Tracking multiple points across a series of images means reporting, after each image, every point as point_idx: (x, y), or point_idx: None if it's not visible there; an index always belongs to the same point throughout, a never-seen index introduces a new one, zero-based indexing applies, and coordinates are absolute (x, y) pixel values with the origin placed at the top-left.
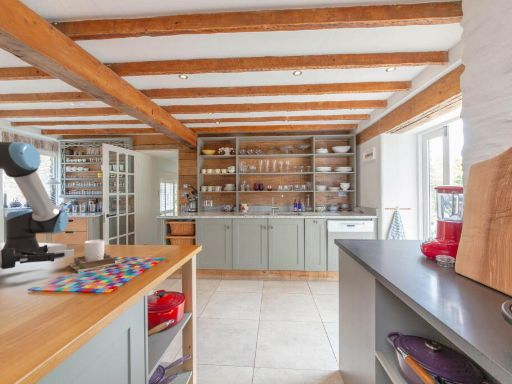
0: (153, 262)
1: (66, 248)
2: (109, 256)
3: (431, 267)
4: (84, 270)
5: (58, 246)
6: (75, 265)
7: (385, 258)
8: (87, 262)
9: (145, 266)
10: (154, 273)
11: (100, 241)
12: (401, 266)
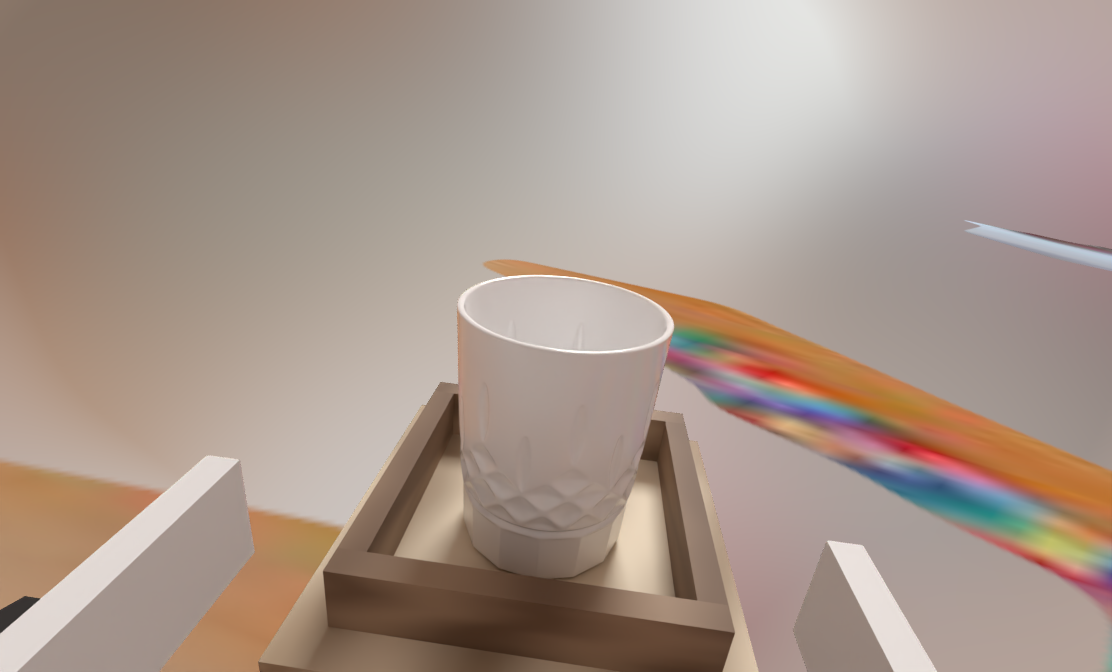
0: (745, 370)
1: (248, 522)
2: None
3: (1101, 251)
4: None
5: (138, 577)
6: (463, 662)
7: (1000, 238)
8: (721, 579)
9: (817, 411)
10: (1013, 448)
11: (517, 295)
12: (1082, 255)
